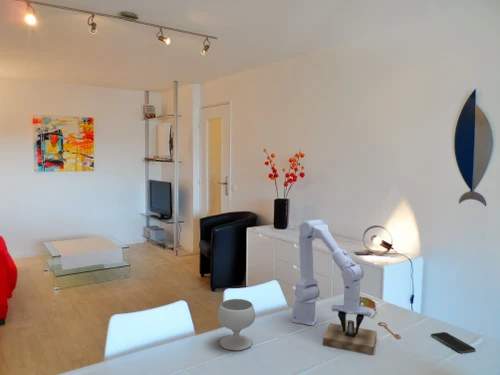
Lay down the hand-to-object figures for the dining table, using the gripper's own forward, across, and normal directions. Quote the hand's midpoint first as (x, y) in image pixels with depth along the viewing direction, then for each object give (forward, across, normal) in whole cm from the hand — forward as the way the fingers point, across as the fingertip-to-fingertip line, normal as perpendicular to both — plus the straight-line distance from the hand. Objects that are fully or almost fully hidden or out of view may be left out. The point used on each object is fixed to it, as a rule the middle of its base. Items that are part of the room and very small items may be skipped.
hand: (350, 332), depth 149 cm
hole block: (+4, 0, 0) cm, 4 cm away
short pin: (+4, -4, +10) cm, 11 cm away
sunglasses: (+4, 0, +33) cm, 34 cm away
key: (+4, +14, +17) cm, 22 cm away
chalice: (+4, -39, -19) cm, 44 cm away
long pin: (+4, 0, 0) cm, 4 cm away
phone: (+4, +36, +15) cm, 39 cm away
